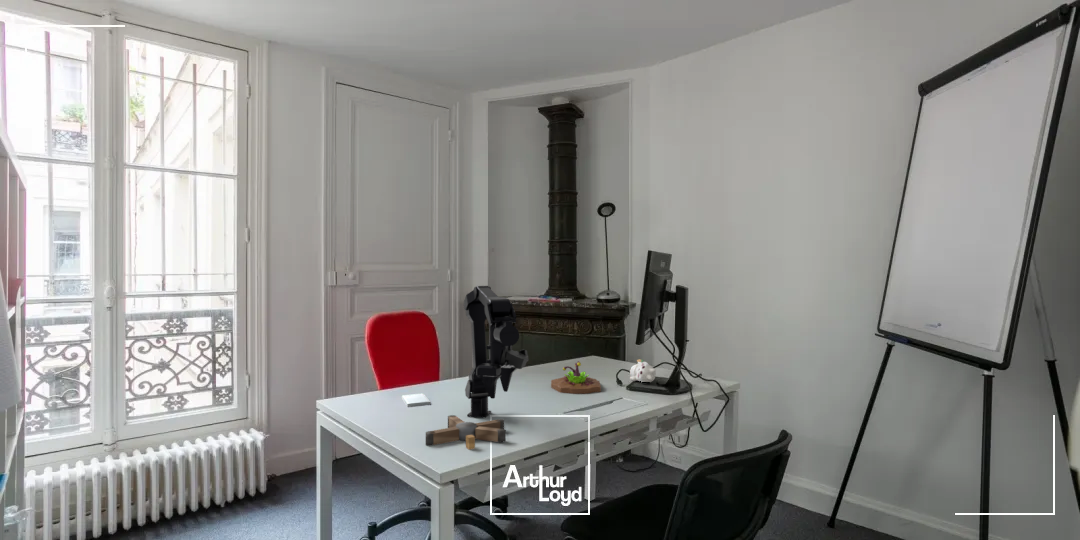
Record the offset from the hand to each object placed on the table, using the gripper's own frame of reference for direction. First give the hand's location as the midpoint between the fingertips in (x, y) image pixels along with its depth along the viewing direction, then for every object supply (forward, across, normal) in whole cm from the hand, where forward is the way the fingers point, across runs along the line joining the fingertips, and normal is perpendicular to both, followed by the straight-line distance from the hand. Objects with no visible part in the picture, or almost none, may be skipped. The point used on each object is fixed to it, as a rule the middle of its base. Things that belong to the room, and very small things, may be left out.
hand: (499, 394), depth 163 cm
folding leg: (+12, -4, +1) cm, 13 cm away
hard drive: (+12, +24, +44) cm, 52 cm away
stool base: (+12, -3, +10) cm, 16 cm away
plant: (+11, +64, -5) cm, 65 cm away
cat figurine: (+11, +83, -28) cm, 88 cm away
